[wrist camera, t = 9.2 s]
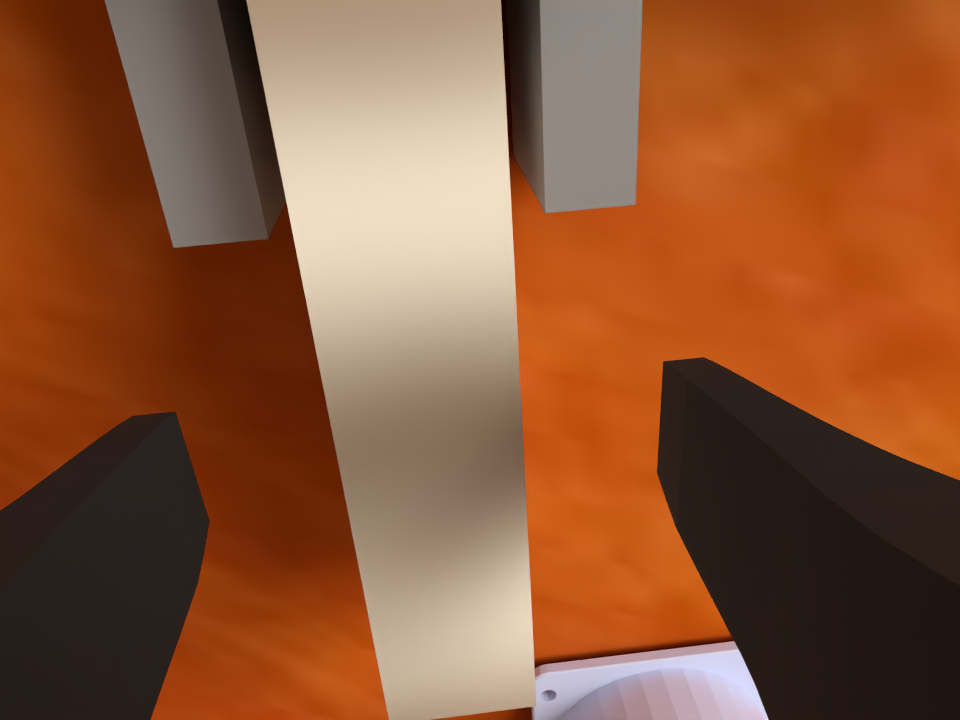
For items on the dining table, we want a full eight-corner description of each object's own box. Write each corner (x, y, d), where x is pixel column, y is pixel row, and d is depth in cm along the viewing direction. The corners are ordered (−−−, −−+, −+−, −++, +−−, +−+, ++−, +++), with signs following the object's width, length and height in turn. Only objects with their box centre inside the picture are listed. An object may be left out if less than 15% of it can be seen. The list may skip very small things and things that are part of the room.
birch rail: (502, 514, 21) (537, 706, 15) (392, 527, 20) (389, 724, 15) (460, -78, 14) (498, -98, 9) (295, -65, 14) (228, -79, 8)
